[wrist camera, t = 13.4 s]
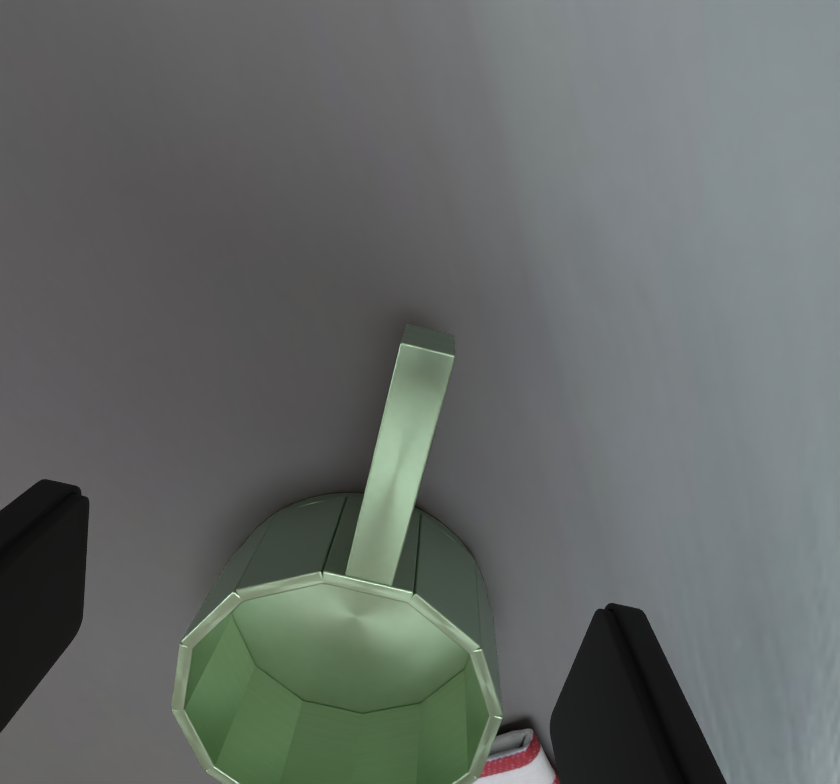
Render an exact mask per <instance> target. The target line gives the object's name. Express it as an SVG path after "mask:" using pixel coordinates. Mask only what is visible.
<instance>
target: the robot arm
mask: <svg viewBox="0 0 840 784" xmlns="http://www.w3.org/2000/svg"><path fill="white" fill-rule="evenodd" d="M88 519H89V500H88V498H87V497H85V496H81V490H80V488H79V487H78V486H75V485H70V484H66V483H61V482H56V481H52V480H47V479H43V480H40V481H39V482H37V483H36V484H34V485H33V486H32V487H31V488H29V489H28V490H27V491H25V492H24V493H23V494H21V495H20V496H19V497H18V498H16V499H15V500H14V501H12V502H11V503H10V504H9V505H7V506H6V507H5V508H3V509H2V510H1V511H0V733H1V731H2V730H3V729H4V728H5V726H6V725H7V724H8V722H9V721H10V720H11V719H12V717H13V716H14V715H15V713H16V712H17V711H18V710H19V708H20V707H21V706H22V704H23V703H24V702H25V701H26V699H27V698H28V697H29V695H30V694H31V693H32V692H33V690H34V689H35V688H36V687H37V685H38V684H39V683H40V681H41V680H42V679H43V678H44V676H45V675H46V674H47V672H48V671H49V670H50V669H51V667H52V666H53V665H54V663H55V662H56V661H57V660H58V658H59V657H60V656H61V654H62V653H63V652H64V651H65V649H66V648H67V647H68V645H69V644H70V643H71V642H72V640H73V639H74V637H75V636H76V634H77V632H78V630H79V628H80V626H81V622H82V618H83V607H84V589H85V571H86V554H87V536H88ZM550 736H551V741H552V746H553V751H554V755H555V760H556V765H557V770H558V775H559V780H560V784H726V781H725V779H724V777H723V775H722V773H721V771H720V769H719V767H718V765H717V763H716V761H715V759H714V756H713V754H712V752H711V750H710V748H709V746H708V744H707V742H706V740H705V738H704V736H703V734H702V731H701V729H700V727H699V725H698V723H697V721H696V719H695V717H694V715H693V713H692V711H691V709H690V706H689V705H688V703H687V701H686V698H685V696H684V694H683V692H682V690H681V688H680V686H679V684H678V682H677V680H676V678H675V676H674V673H673V671H672V669H671V667H670V665H669V663H668V661H667V659H666V657H665V655H664V653H663V651H662V648H661V646H660V644H659V642H658V640H657V638H656V636H655V634H654V632H653V630H652V628H651V626H650V623H649V621H648V619H647V617H646V615H645V614H644V612H643V611H642V610H640V609H637V608H633V607H628V606H623V605H619V604H614V603H610V604H608V605H607V606H606V607H605V609H598V610H597V611H596V612H595V614H594V616H593V618H592V621H591V623H590V625H589V628H588V630H587V632H586V635H585V637H584V639H583V642H582V644H581V646H580V649H579V651H578V653H577V656H576V658H575V660H574V663H573V665H572V668H571V670H570V672H569V675H568V677H567V679H566V682H565V684H564V686H563V689H562V691H561V693H560V696H559V698H558V700H557V703H556V705H555V707H554V710H553V712H552V715H551V720H550Z"/></svg>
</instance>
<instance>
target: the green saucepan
mask: <svg viewBox="0 0 840 784" xmlns="http://www.w3.org/2000/svg"><path fill="white" fill-rule="evenodd" d="M455 357H456V354H455V336H454V335H451V334H447V333H443V332H439V331H435V330H431V329H427V328H423V327H419V326H415V325H411V324H406V326H405V329H404V332H403V335H402V339H401V342H400V346H399V350H398V354H397V358H396V362H395V367H394V371H393V375H392V379H391V383H390V387H389V392H388V396H387V400H386V404H385V408H384V413H383V417H382V421H381V425H380V429H379V433H378V438H377V442H376V446H375V450H374V454H373V459H372V463H371V467H370V471H369V475H368V479H367V484H366V488H365V492H364V493H334V494H327V495H321V496H316V497H312V498H309V499H306V500H302V501H299V502H296V503H294V504H292V505H290V506H288V507H286V508H283V509H281V510H280V511H278V512H277V513H275V514H273V515H272V516H270V517H269V518H268V519H266V520H265V521H264V522H263V523H262V524H261V525H259V526H258V527H257V528H256V529H255V530H254V531H253V532H252V534H251V535H250V536H249V537H248V538H247V539H246V541H245V543H244V544H243V545H242V546H241V547H240V548H239V549H238V550H237V551H236V552H235V553H234V554H233V555H232V556H231V557H230V559H229V561H228V562H227V564H226V566H225V568H224V569H223V571H222V573H221V574H220V576H219V578H218V579H217V581H216V583H215V585H214V586H213V588H212V590H211V591H210V593H209V595H208V596H207V598H206V600H205V602H204V603H203V605H202V607H201V608H200V610H199V612H198V613H197V615H196V617H195V619H194V620H193V622H192V624H191V625H190V627H189V629H188V630H187V632H186V634H185V636H184V637H183V639H182V641H181V643H180V645H179V653H178V660H177V668H176V675H175V683H174V690H173V697H172V705H171V708H172V712H173V714H174V716H175V718H176V720H177V722H178V723H179V725H180V727H181V729H182V731H183V733H184V735H185V736H186V738H187V740H188V742H189V744H190V746H191V747H192V749H193V751H194V753H195V755H196V757H197V759H198V760H199V762H200V764H201V766H202V768H203V769H204V770H206V773H208V774H209V775H211V776H212V777H214V778H215V779H217V780H218V781H220V782H221V783H223V784H472V783H474V782H475V781H477V780H478V778H479V777H480V776H481V774H482V771H483V768H484V766H485V763H486V761H487V758H488V755H489V753H490V750H491V748H492V745H493V742H494V740H495V737H496V735H497V732H498V729H499V727H500V724H501V722H502V719H503V707H502V697H501V688H500V678H499V668H498V659H497V649H496V639H495V630H494V620H493V615H492V612H491V609H490V605H489V602H488V598H487V592H486V588H485V583H484V580H483V577H482V575H481V572H480V570H479V567H478V565H477V563H476V561H475V560H474V558H473V557H472V555H471V553H470V552H469V551H468V549H467V548H466V547H465V545H464V544H463V543H462V542H461V540H460V539H459V538H458V537H457V536H456V535H454V534H453V533H452V532H451V531H450V530H449V529H448V528H447V527H446V526H444V525H443V524H442V523H441V522H439V521H438V520H437V519H435V518H434V517H432V516H430V515H429V514H427V513H425V512H423V511H422V510H420V509H418V508H415V503H416V500H417V496H418V492H419V489H420V485H421V482H422V478H423V474H424V471H425V467H426V463H427V460H428V456H429V452H430V449H431V445H432V441H433V438H434V434H435V430H436V427H437V423H438V419H439V416H440V412H441V409H442V405H443V401H444V398H445V394H446V390H447V387H448V383H449V379H450V376H451V372H452V368H453V365H454V361H455Z"/></svg>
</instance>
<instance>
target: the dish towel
mask: <svg viewBox="0 0 840 784" xmlns="http://www.w3.org/2000/svg"><path fill="white" fill-rule="evenodd" d="M472 784H560V780H559V776H558V775H557V773H556V772H555V770H554V769H553V768H552V767H551V765H550V763H549V761H548V759H547V757H546V755H545V753H544V751H543V748H542V746H541V744H540V741H539V739H538V737H537V735H536V734H535V732H534V731H533V730H532V729H523V730H514V731H511V732H508V733H505V734H502V735H499V736H496V737H495V740H494V742H493V745H492V748H491V750H490V753H489V755H488V758H487V761H486V763H485V766H484V768H483V771H482V774H481V776H480V777H479V778H478V780H477V781H475V782H474V783H472Z"/></svg>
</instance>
